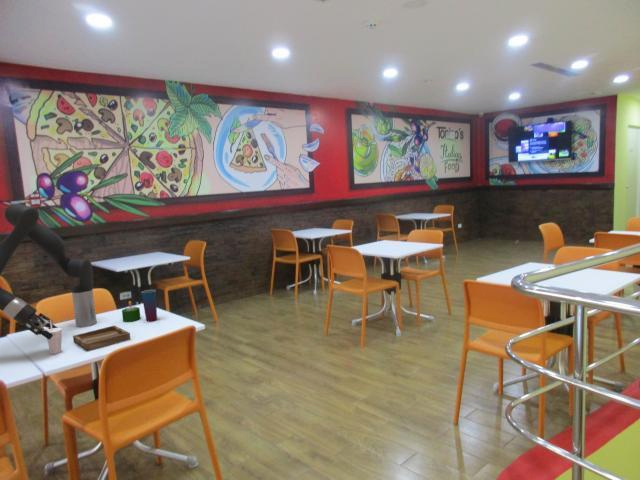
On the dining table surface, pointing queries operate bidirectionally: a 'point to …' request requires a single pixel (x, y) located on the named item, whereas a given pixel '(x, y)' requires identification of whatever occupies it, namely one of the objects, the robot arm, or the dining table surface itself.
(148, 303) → the cup
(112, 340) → the tray
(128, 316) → the candle
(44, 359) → the dining table surface
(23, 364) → the dining table surface
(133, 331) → the dining table surface
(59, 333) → the smoothie
